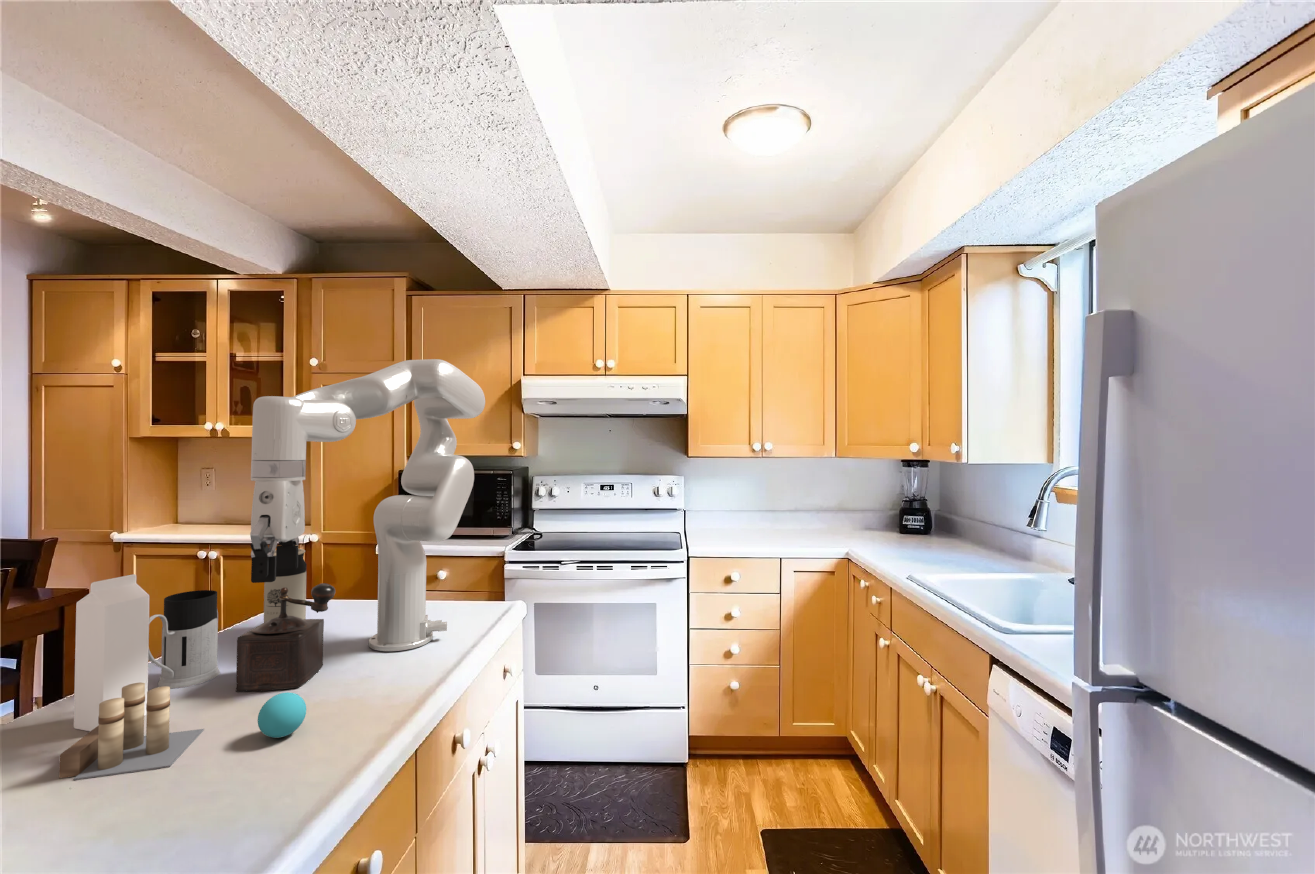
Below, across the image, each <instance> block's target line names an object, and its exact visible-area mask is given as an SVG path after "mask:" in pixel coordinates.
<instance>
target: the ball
mask: <svg viewBox="0 0 1315 874" xmlns="http://www.w3.org/2000/svg"><path fill="white" fill-rule="evenodd" d="M306 714H307V704H306V702H305V700H304V699H303V697H302V696H300V694H298V693H294V692H281V693H278V694H275V695H274V696H272V697H271V698H269V699H268V700H266V701H265V703H264V704H263V705H262V707H261V708H260V710H259V713H258V715H257V726H258V729H259V731H260V732H261V733H262V734H263V735H265V736H266V737H269V738H273V739H275V738H277V739H279V738H283V737H287V736H289V735H291V734H292V733H294V732H295V731H296V730H297V729H299V728H300V727H301V726H302V724H303V722H304V721H305V718H306Z"/></svg>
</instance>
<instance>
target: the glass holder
mask: <svg viewBox="0 0 1315 874" xmlns="http://www.w3.org/2000/svg"><path fill="white" fill-rule="evenodd" d="M156 618H159V619H160V620H161V622H162V627H161V662H159V661H158V660H156V659H155V657H154V656H153V655H152V653H151V651H150V647H149V648H148V662H151V663H152V664H153V665H155V666H156V667H159V668H160V669H161V671H160V673H161V675H160V678H159V680H158V682H157V686H158V687H163V686H168V687H170V690H172V689H181V688H189V687H193V686H197V685H200V684H204V683H207V682H210V681H211V680H213V679H215V678H217V677H218V676H219V675H220V674H221V671H220V668H219V666H218V644H219V643H218V638H219V636H218V633H219V632H218V629H219V612H218V591H216V590H212V589H203V590H191V591H185V592H178V593H174V594H170V595H168V596H165V597H164V598H163V614H154V615H151V616H149V625H150V624H151V622H152V621H153V620H155V619H156Z"/></svg>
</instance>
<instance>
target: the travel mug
mask: <svg viewBox="0 0 1315 874" xmlns="http://www.w3.org/2000/svg"><path fill="white" fill-rule="evenodd" d="M306 552H307V551H306V550H305V549H303V548H298V567H297V568H296V569H283V570H278V569H276V580H275V581H273V582H263V583H264V585H263V587H264V588H263V591H264V592H263V599H264V601H263V623H264V622H266V621H268V620H271V619H273V618H276V617H279V615H280V611H281V600H279V596H280V595H281V593H280V590H281V588H283V587H286V588H287V589H288V593H287V594H288V597H290V598H294V599H299V600H306V601H307V562H306V561H305V559H304V557H305V553H306ZM273 556H276V549H275V552H274V555H273ZM306 608H307V606H306V605H299V604H293V603H290V602H288V601H287V603H286V613H287V615H288V616H295V617H299V618H301V619H307V618H306V617H307V616H306V613H307V609H306Z"/></svg>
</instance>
